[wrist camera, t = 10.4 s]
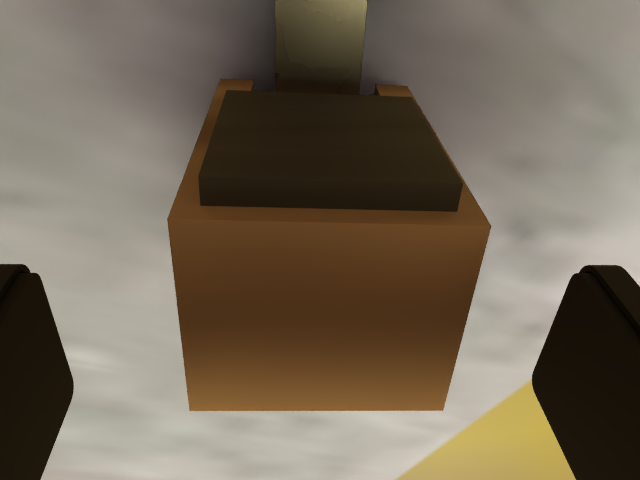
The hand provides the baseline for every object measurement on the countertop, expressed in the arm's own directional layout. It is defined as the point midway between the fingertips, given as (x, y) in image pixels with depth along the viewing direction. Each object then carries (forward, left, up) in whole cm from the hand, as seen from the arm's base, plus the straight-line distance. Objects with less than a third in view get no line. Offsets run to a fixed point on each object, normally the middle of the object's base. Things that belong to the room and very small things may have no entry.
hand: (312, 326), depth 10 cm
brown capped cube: (+1, 0, -9) cm, 9 cm away
